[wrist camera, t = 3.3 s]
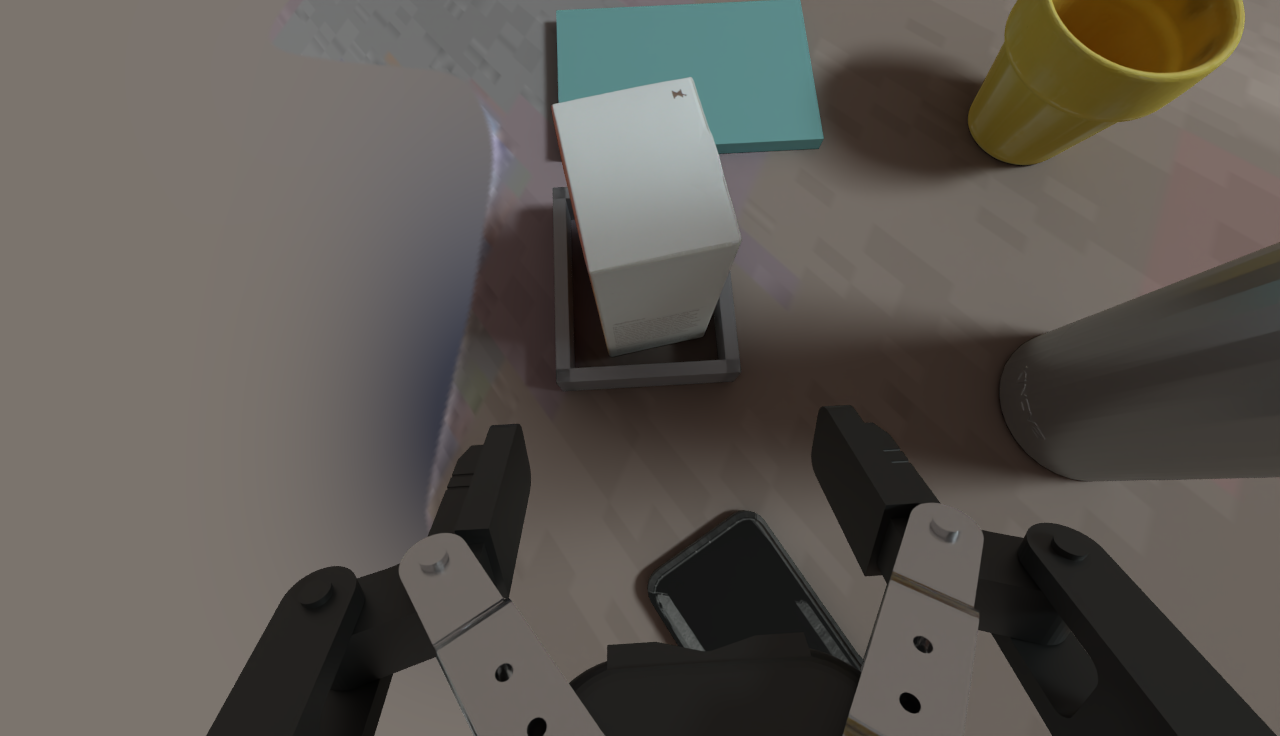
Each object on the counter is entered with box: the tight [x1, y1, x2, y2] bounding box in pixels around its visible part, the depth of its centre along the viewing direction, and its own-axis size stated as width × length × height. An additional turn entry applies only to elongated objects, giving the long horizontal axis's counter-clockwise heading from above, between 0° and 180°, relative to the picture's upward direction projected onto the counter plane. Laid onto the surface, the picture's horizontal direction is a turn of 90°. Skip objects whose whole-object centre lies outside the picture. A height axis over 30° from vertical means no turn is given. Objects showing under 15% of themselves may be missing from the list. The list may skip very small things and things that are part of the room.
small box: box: [551, 77, 742, 357], centre depth 27 cm, size 8×6×13 cm
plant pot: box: [968, 0, 1245, 165], centre depth 31 cm, size 10×10×10 cm
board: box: [556, 0, 824, 154], centre depth 36 cm, size 18×12×1 cm, turn 93°
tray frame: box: [553, 187, 741, 391], centre depth 32 cm, size 11×13×2 cm
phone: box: [648, 510, 863, 671], centre depth 28 cm, size 8×1×15 cm
